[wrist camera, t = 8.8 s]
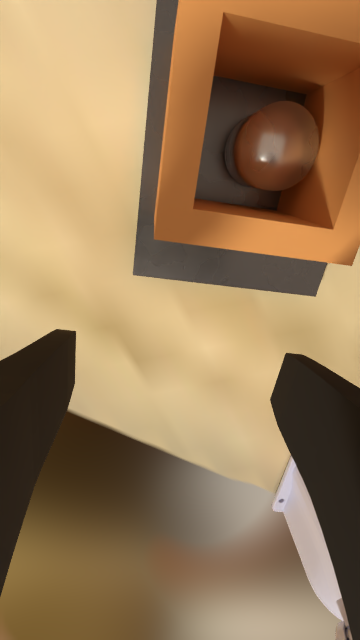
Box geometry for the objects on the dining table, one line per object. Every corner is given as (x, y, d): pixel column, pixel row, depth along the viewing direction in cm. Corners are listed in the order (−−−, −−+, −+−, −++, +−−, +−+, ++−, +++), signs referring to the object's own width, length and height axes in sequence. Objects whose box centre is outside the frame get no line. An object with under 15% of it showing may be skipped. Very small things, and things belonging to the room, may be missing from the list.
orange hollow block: (291, 236, 18) (351, 265, 12) (154, 216, 17) (153, 239, 11) (339, 68, 14) (449, 7, 9) (174, 32, 14) (187, -60, 8)
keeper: (308, 290, 20) (343, 318, 16) (133, 269, 19) (128, 295, 15) (404, 1, 14) (493, -60, 11) (163, -60, 13) (166, -154, 9)
